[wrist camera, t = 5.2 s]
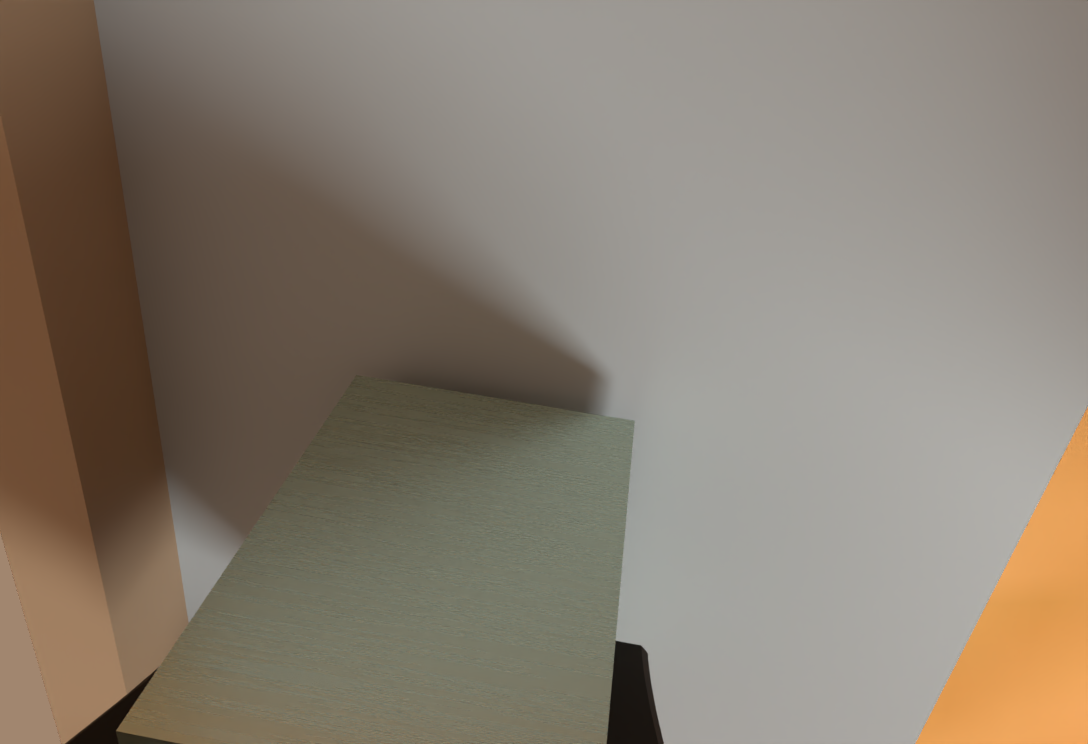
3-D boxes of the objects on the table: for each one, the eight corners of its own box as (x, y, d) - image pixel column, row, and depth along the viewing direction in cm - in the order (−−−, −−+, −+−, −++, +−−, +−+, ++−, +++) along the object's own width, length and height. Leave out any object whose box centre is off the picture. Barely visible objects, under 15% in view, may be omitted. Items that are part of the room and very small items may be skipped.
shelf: (1527, -608, 7) (1982, -871, 5) (746, 1022, 23) (755, 1169, 20) (-118, -735, 8) (-470, -1006, 6) (196, 906, 24) (137, 1031, 21)
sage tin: (634, 420, 12) (598, 825, 7) (581, 707, 15) (527, 1142, 10) (346, 373, 12) (98, 728, 7) (349, 664, 15) (178, 1062, 10)
